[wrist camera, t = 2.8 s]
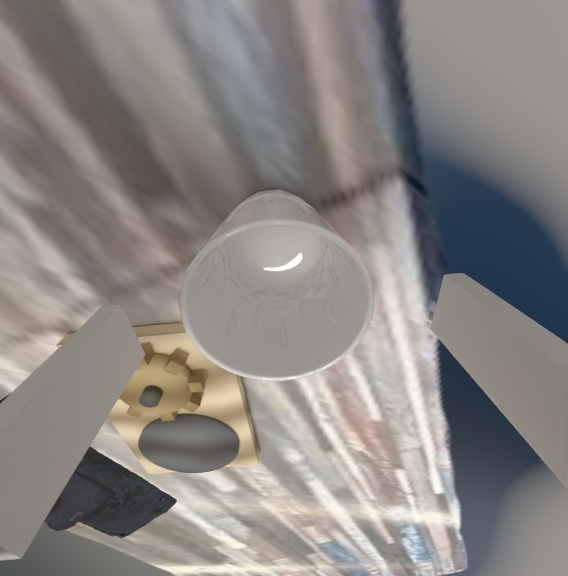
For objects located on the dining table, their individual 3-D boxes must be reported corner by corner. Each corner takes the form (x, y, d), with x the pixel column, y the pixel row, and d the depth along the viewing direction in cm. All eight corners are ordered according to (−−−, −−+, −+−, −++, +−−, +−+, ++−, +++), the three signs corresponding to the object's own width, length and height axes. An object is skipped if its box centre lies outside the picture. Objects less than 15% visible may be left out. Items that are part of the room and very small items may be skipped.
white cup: (221, 172, 17) (168, 206, 8) (337, 187, 17) (404, 233, 9) (220, 277, 21) (185, 377, 12) (316, 286, 21) (347, 385, 13)
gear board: (68, 333, 22) (32, 368, 19) (226, 318, 22) (218, 350, 19) (153, 461, 34) (140, 498, 30) (259, 451, 34) (258, 487, 30)
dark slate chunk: (111, 520, 43) (94, 560, 39) (-18, 463, 33) (-59, 509, 29) (186, 498, 40) (176, 538, 36) (70, 427, 30) (38, 473, 26)
